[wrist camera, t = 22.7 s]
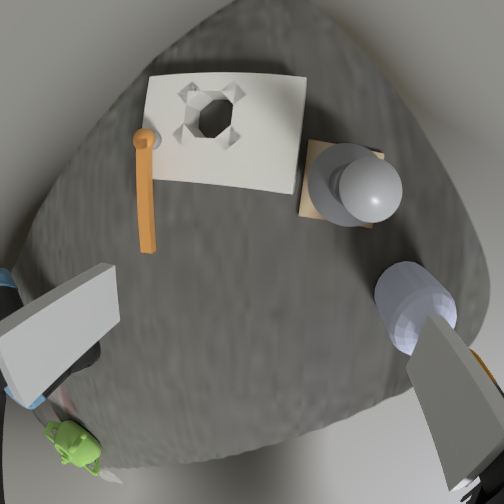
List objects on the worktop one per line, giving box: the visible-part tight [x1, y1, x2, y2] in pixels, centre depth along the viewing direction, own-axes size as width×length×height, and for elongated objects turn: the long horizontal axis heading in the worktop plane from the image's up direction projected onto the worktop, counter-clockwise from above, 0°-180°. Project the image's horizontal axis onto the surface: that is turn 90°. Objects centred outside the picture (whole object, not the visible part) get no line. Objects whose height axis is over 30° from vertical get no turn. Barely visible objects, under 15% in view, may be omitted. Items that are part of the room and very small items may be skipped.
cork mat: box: [299, 140, 384, 229], centre depth 34 cm, size 10×10×1 cm
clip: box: [133, 128, 156, 253], centre depth 32 cm, size 15×3×1 cm, turn 0°
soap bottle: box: [374, 261, 497, 384], centre depth 25 cm, size 9×9×25 cm
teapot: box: [44, 420, 101, 476], centre depth 64 cm, size 19×20×14 cm
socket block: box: [142, 72, 306, 194], centre depth 33 cm, size 20×14×6 cm
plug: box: [307, 143, 402, 227], centre depth 26 cm, size 9×9×17 cm
